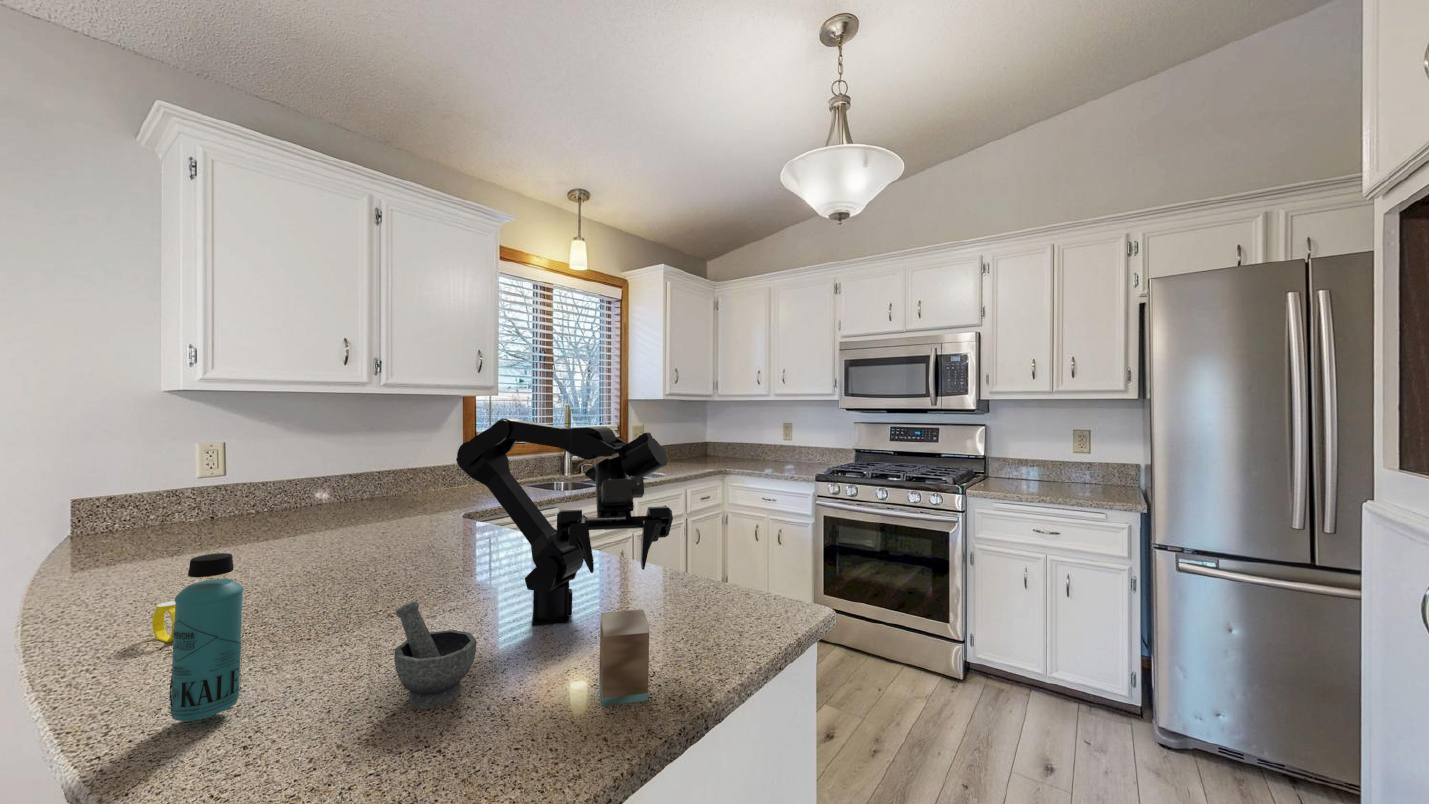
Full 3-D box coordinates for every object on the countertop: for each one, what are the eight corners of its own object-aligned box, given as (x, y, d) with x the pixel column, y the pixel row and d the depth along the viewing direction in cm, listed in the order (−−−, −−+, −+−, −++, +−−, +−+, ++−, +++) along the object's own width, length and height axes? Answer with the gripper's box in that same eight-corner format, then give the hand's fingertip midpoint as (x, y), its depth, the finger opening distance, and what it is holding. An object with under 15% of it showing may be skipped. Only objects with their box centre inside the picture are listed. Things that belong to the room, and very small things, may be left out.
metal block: (602, 706, 72) (603, 628, 73) (599, 684, 78) (600, 612, 78) (648, 700, 74) (649, 625, 74) (641, 679, 80) (643, 609, 80)
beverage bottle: (198, 706, 71) (204, 548, 71) (254, 704, 71) (259, 548, 71) (151, 736, 64) (157, 562, 64) (212, 734, 65) (218, 562, 65)
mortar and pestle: (489, 685, 77) (491, 599, 77) (438, 721, 68) (440, 623, 68) (424, 673, 80) (426, 590, 80) (367, 706, 71) (369, 612, 72)
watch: (146, 642, 90) (146, 604, 90) (168, 635, 92) (168, 599, 93) (167, 645, 88) (167, 607, 88) (189, 639, 90) (189, 602, 91)
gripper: (557, 460, 89) (556, 545, 79) (671, 459, 95) (685, 538, 84) (557, 501, 97) (555, 584, 86) (662, 498, 102) (673, 575, 91)
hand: (618, 569), depth 87 cm, fingers open, 8 cm apart
